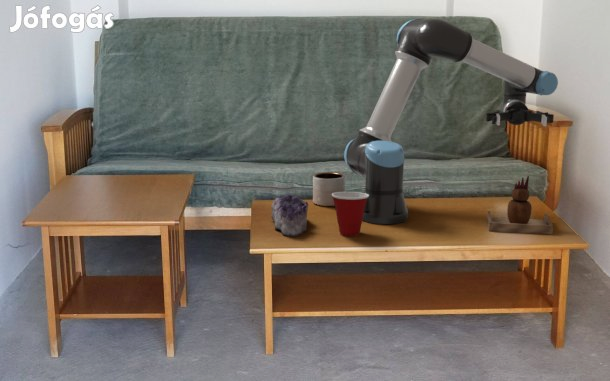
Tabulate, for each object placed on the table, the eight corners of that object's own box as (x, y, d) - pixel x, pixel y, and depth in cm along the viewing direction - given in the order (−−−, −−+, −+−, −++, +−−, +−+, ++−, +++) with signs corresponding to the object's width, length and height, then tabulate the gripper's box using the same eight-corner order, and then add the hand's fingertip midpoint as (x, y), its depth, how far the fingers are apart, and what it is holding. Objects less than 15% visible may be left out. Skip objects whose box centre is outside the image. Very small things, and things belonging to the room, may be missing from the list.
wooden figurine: (532, 223, 208) (536, 175, 205) (527, 228, 204) (530, 178, 200) (509, 220, 212) (513, 172, 208) (504, 225, 207) (507, 176, 204)
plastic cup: (371, 229, 206) (371, 189, 203) (365, 240, 196) (365, 198, 193) (335, 226, 209) (335, 188, 206) (327, 237, 199) (327, 196, 196)
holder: (489, 231, 203) (489, 222, 203) (487, 218, 216) (487, 211, 215) (552, 234, 200) (552, 226, 199) (546, 221, 212) (547, 213, 212)
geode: (317, 236, 201) (313, 203, 198) (278, 243, 199) (273, 210, 196) (307, 214, 220) (303, 184, 217) (271, 221, 219) (266, 191, 216)
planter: (332, 208, 229) (332, 180, 227) (306, 203, 235) (306, 176, 233) (351, 202, 237) (351, 174, 235) (325, 197, 244) (325, 170, 241)
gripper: (554, 124, 229) (564, 134, 209) (476, 122, 235) (478, 132, 214) (556, 101, 228) (566, 109, 208) (478, 100, 233) (480, 108, 213)
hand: (521, 121), depth 211 cm, fingers open, 13 cm apart
